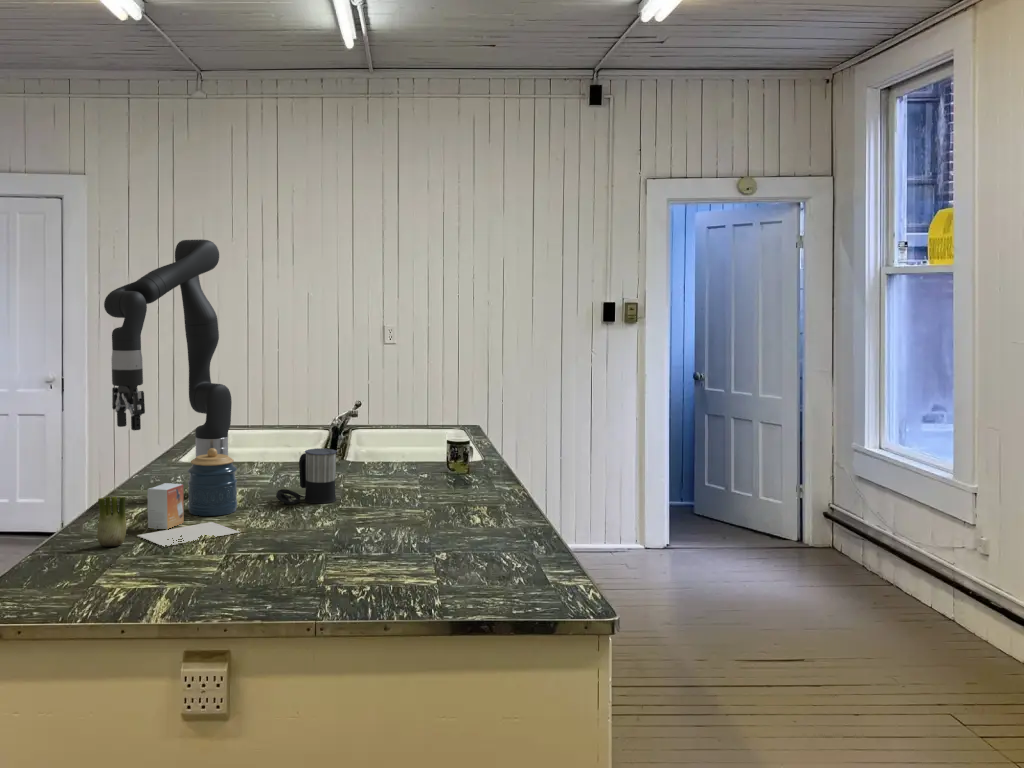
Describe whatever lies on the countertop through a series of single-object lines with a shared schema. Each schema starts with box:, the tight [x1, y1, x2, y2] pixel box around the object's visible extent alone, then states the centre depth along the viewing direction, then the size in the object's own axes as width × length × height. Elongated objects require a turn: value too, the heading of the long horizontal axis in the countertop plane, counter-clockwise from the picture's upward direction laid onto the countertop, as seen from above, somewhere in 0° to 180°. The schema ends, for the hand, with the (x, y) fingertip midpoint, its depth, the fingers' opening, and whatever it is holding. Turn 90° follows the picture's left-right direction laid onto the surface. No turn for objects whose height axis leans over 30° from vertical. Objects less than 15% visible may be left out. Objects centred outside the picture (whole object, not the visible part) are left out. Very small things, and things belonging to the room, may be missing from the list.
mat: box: [136, 521, 241, 547], centre depth 230 cm, size 20×14×1 cm
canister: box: [187, 448, 238, 517], centre depth 254 cm, size 13×13×18 cm
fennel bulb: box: [96, 495, 127, 548], centre depth 218 cm, size 6×5×12 cm
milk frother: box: [275, 447, 338, 505], centre depth 269 cm, size 14×16×15 cm
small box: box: [147, 482, 185, 530], centre depth 237 cm, size 8×6×10 cm
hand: (128, 428), depth 245 cm, fingers open, 8 cm apart
